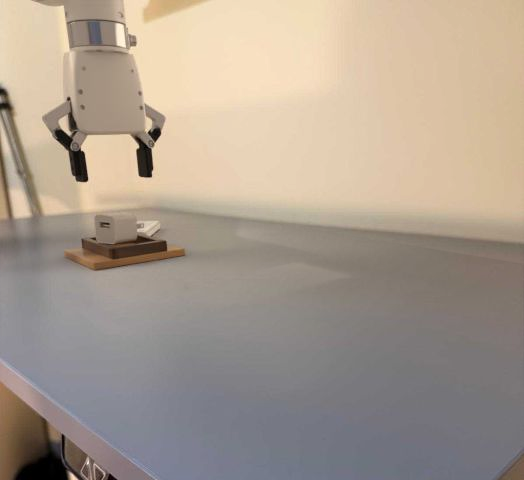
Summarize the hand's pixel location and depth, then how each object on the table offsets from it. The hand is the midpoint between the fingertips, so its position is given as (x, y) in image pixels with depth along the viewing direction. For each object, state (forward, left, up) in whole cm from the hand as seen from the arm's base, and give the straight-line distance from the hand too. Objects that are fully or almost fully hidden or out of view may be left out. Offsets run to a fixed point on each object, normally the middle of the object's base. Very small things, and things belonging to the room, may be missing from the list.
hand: (114, 179), depth 77 cm
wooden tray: (0, 0, -11) cm, 11 cm away
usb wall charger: (0, 0, -9) cm, 9 cm away
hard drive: (-17, +9, -11) cm, 22 cm away
